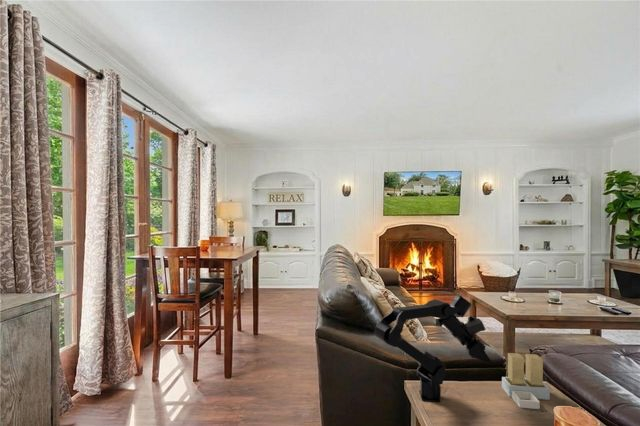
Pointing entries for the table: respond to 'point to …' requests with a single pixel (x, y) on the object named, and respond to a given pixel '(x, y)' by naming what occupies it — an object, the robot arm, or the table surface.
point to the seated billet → (534, 370)
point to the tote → (529, 403)
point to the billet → (515, 369)
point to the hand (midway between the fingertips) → (485, 357)
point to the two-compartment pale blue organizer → (526, 389)
